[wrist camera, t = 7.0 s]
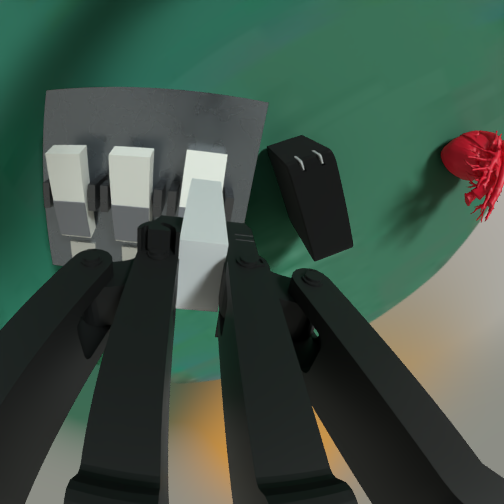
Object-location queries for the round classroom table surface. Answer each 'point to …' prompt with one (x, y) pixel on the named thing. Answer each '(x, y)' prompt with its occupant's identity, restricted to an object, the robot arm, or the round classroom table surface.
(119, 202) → the rocker mid
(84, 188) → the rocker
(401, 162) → the round classroom table surface
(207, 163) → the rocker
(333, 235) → the electronic device
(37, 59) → the round classroom table surface
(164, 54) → the round classroom table surface
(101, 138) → the console
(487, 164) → the heart organ
